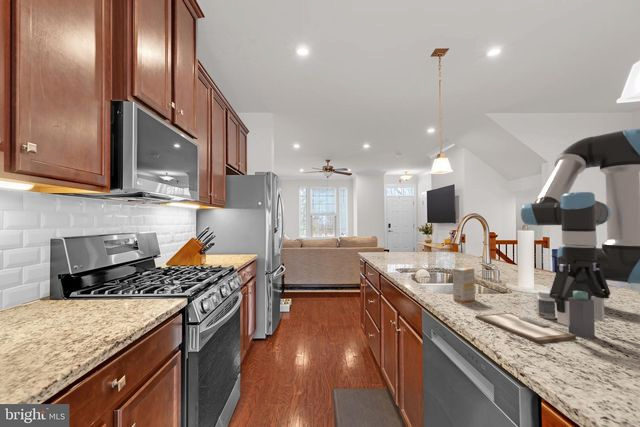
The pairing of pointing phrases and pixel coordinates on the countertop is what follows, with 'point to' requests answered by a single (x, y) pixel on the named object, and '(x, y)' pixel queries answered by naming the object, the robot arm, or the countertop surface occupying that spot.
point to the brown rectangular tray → (526, 327)
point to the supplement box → (463, 284)
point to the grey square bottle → (581, 315)
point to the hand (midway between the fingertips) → (581, 322)
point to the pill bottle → (546, 305)
